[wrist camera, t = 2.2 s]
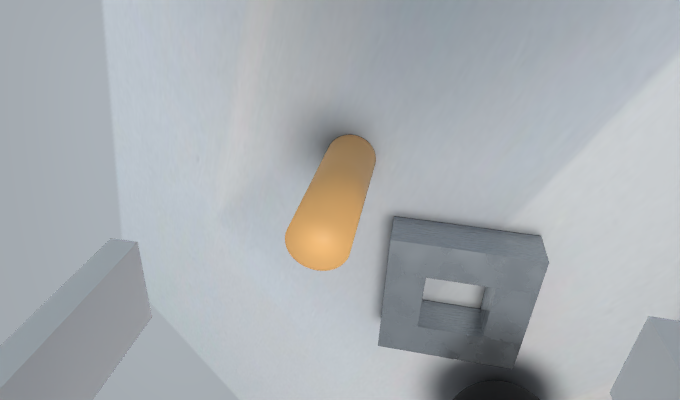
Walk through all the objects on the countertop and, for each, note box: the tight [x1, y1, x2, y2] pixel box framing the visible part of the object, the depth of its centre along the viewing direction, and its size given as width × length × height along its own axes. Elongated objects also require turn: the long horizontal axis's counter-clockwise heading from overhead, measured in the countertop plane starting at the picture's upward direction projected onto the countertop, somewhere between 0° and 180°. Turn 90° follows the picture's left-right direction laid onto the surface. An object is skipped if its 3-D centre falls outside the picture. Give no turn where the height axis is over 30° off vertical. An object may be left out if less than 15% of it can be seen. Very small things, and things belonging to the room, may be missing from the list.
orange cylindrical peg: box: [285, 135, 376, 271], centre depth 33 cm, size 4×4×12 cm
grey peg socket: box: [378, 216, 549, 369], centre depth 41 cm, size 12×12×4 cm
